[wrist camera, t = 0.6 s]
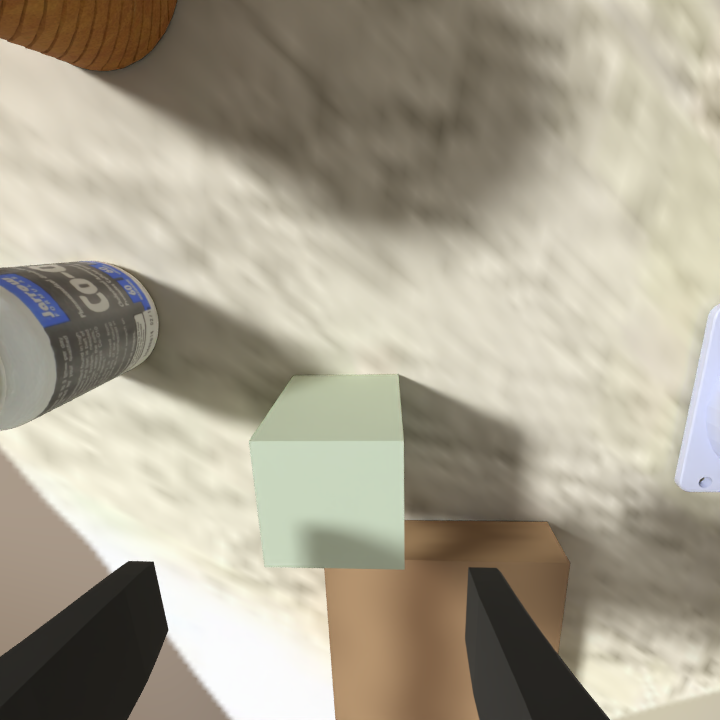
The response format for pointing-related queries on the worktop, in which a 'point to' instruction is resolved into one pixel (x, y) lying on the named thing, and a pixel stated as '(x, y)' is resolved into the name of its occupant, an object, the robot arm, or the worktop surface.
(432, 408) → the worktop surface
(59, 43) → the disposable coffee cup
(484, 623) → the robot arm
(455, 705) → the walnut base
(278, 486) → the sage block
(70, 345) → the pill bottle
